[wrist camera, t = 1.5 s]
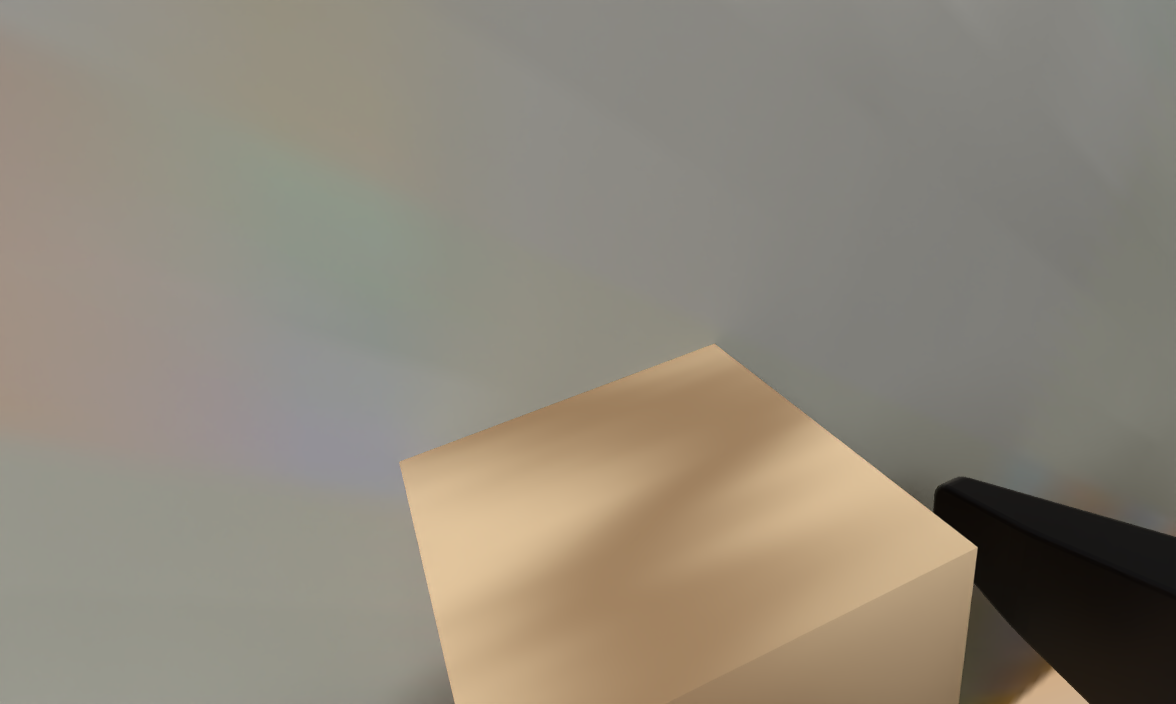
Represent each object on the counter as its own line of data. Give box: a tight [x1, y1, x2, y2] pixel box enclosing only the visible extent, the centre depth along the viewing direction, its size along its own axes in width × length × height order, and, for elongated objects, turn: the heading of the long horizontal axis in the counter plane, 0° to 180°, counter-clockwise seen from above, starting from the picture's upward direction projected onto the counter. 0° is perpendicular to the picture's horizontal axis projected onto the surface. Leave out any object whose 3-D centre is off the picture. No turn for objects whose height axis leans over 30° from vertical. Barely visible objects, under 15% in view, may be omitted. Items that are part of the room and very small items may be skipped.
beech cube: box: [400, 344, 978, 704], centre depth 9 cm, size 5×5×5 cm
